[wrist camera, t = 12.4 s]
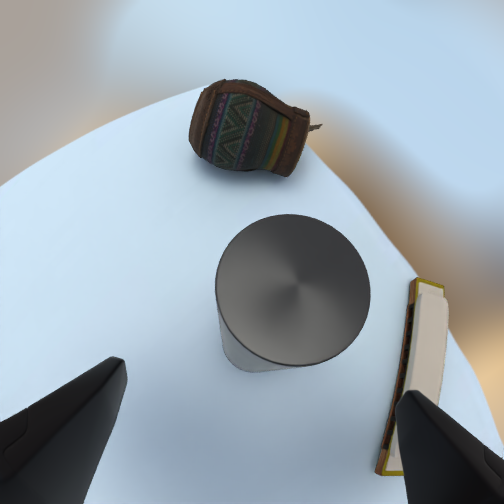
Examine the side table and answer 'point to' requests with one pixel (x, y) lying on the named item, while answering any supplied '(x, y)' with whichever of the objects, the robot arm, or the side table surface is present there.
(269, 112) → the mate gourd
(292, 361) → the cylinder
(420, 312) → the harmonica
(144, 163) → the side table surface
